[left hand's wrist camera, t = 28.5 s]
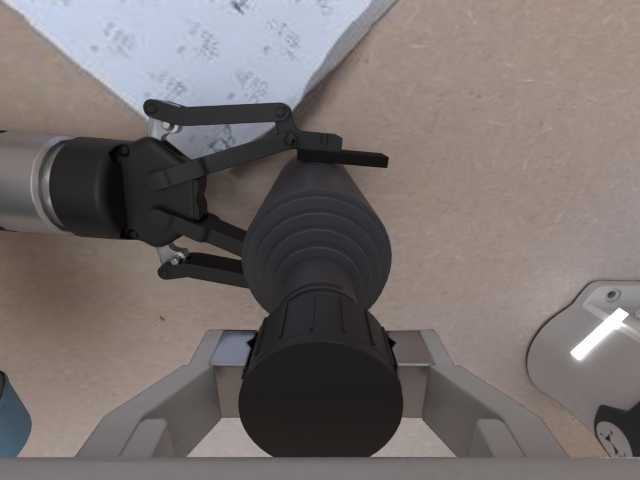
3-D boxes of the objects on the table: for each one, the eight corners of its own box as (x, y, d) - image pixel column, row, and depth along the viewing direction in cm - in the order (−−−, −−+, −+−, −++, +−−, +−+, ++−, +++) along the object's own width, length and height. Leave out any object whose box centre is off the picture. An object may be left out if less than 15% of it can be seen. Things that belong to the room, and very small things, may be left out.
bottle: (348, 147, 31) (431, 212, 10) (353, 221, 34) (430, 406, 12) (271, 156, 31) (182, 239, 10) (282, 229, 34) (231, 426, 12)
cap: (255, 287, 10) (237, 332, 7) (398, 298, 10) (419, 347, 8) (251, 400, 11) (236, 464, 9) (377, 409, 11) (390, 475, 9)
